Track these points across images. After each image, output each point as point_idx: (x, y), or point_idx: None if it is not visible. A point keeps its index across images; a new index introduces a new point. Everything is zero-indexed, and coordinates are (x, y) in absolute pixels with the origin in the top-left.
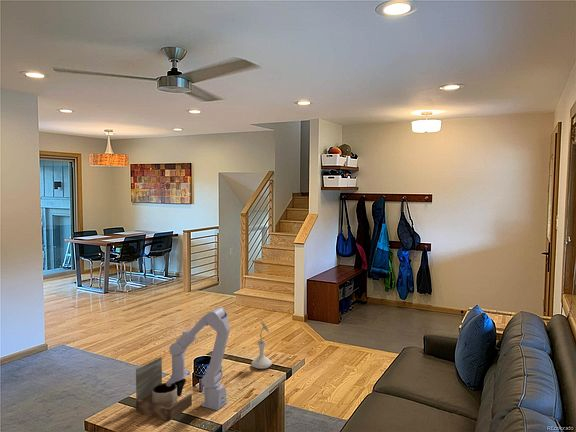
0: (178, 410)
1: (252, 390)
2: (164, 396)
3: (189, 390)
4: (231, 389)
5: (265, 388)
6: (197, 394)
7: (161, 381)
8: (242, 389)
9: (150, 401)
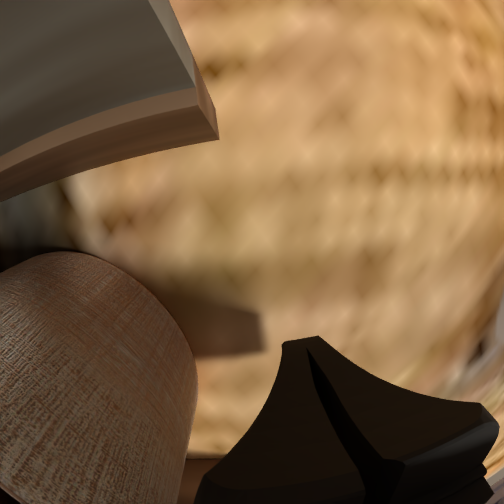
0: None
1: (490, 467)
2: (3, 499)
3: (473, 271)
4: (500, 429)
5: (500, 469)
6: (434, 378)
7: (139, 31)
8: (498, 448)
9: (22, 186)
